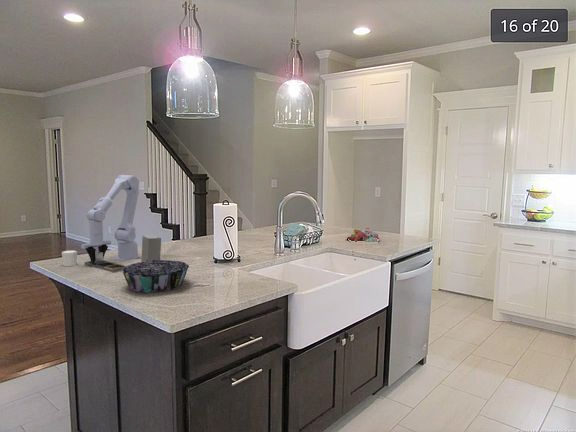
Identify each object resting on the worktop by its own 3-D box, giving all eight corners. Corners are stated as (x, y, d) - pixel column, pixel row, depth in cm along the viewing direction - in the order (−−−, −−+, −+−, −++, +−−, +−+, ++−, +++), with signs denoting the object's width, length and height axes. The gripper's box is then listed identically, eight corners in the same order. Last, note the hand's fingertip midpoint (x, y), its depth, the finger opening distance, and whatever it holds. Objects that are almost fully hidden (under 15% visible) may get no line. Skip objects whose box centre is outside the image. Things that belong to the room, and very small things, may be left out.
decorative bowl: (200, 290, 179) (201, 267, 179) (140, 300, 159) (142, 274, 158) (166, 278, 196) (167, 257, 195) (108, 285, 175) (109, 261, 175)
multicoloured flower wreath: (340, 238, 303) (341, 226, 302) (370, 238, 310) (371, 225, 309) (356, 245, 279) (357, 231, 278) (388, 244, 286) (389, 231, 285)
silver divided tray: (99, 262, 215) (99, 259, 214) (128, 269, 202) (128, 266, 202) (84, 265, 208) (84, 261, 208) (113, 273, 195) (113, 269, 195)
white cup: (60, 267, 202) (59, 253, 201) (63, 264, 209) (63, 250, 208) (76, 267, 204) (75, 252, 203) (79, 263, 210) (78, 249, 210)
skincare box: (140, 267, 207) (140, 235, 205) (154, 265, 212) (154, 234, 210) (147, 270, 201) (147, 237, 199) (161, 268, 205) (161, 236, 203)
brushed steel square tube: (98, 262, 212) (98, 250, 211) (103, 264, 209) (103, 251, 209) (91, 264, 208) (90, 252, 208) (95, 265, 206) (95, 253, 205)
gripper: (105, 231, 215) (105, 257, 217) (77, 234, 203) (78, 262, 205) (113, 232, 211) (114, 259, 213) (85, 236, 199) (86, 264, 201)
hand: (97, 261), depth 209 cm, fingers closed on brushed steel square tube, 4 cm apart
